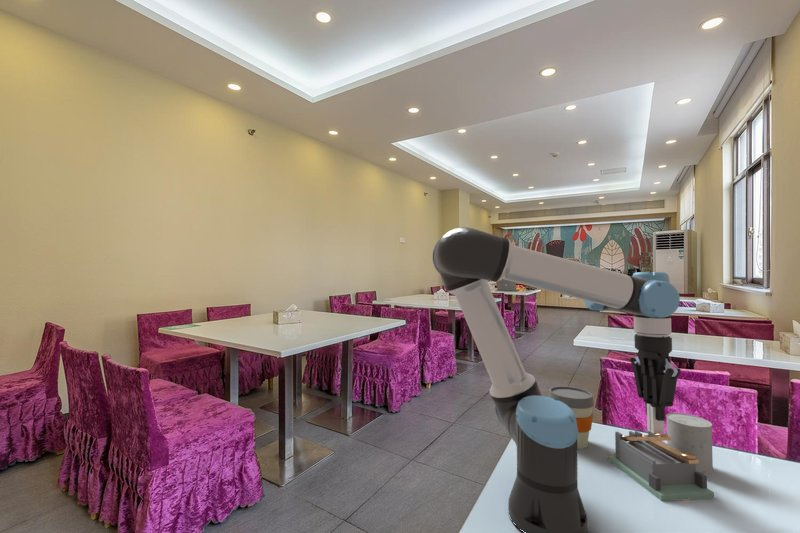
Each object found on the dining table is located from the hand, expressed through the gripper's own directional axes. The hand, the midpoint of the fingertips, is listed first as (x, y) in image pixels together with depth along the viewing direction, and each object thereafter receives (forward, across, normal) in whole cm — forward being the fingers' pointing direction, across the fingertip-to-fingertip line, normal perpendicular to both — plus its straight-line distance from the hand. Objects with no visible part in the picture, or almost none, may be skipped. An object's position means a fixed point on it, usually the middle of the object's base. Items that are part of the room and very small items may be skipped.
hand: (655, 431), depth 86 cm
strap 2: (+6, +3, -5) cm, 9 cm away
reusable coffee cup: (+13, +23, +8) cm, 28 cm away
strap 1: (+4, +3, 0) cm, 5 cm away
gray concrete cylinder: (+13, +7, -16) cm, 22 cm away
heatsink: (+13, +3, -2) cm, 13 cm away
